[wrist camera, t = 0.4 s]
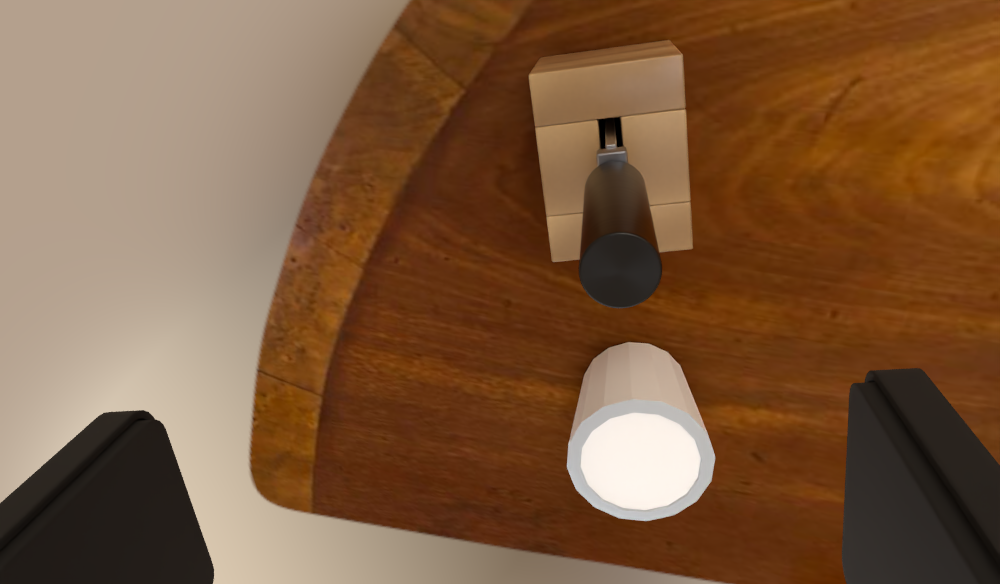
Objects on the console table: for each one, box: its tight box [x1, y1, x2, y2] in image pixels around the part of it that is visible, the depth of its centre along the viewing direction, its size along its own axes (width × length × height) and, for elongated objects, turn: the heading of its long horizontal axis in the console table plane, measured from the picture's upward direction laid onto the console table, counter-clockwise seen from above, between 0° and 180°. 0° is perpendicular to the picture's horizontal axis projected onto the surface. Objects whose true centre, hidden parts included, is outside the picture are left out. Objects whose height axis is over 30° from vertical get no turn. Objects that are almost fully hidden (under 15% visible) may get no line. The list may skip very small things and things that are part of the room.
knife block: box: [528, 40, 693, 262], centre depth 34 cm, size 8×6×6 cm
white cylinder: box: [567, 342, 715, 521], centre depth 38 cm, size 7×7×7 cm
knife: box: [579, 117, 662, 308], centre depth 28 cm, size 3×2×18 cm
